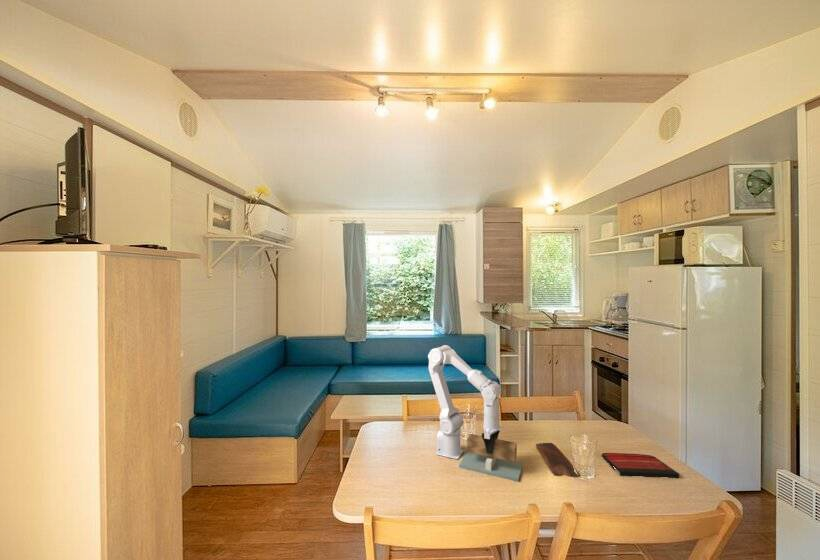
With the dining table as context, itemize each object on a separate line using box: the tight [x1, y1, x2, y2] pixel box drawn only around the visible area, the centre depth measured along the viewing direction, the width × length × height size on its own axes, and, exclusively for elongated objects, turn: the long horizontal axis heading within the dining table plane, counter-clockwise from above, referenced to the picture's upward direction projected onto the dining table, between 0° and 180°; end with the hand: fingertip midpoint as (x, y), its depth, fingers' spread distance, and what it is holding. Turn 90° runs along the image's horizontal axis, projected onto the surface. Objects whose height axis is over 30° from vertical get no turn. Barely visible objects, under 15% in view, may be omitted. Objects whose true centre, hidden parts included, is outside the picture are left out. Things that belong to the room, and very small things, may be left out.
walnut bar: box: [466, 433, 518, 462], centre depth 137 cm, size 18×5×5 cm, turn 65°
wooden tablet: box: [535, 442, 578, 478], centre depth 143 cm, size 26×2×10 cm
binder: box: [601, 452, 680, 479], centre depth 137 cm, size 16×2×21 cm
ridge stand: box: [458, 451, 524, 482], centre depth 137 cm, size 22×12×4 cm, turn 65°
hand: (491, 449), depth 137 cm, fingers closed on walnut bar, 5 cm apart
